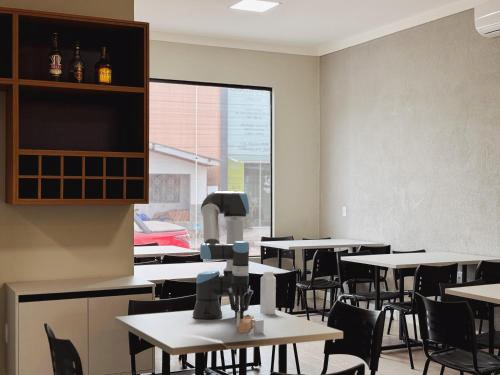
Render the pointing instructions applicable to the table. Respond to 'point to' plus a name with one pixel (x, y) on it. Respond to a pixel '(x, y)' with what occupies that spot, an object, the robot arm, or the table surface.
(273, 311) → the milk
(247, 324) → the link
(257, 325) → the cylinder
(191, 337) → the table surface
